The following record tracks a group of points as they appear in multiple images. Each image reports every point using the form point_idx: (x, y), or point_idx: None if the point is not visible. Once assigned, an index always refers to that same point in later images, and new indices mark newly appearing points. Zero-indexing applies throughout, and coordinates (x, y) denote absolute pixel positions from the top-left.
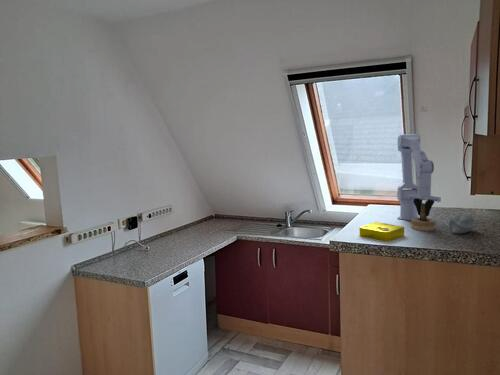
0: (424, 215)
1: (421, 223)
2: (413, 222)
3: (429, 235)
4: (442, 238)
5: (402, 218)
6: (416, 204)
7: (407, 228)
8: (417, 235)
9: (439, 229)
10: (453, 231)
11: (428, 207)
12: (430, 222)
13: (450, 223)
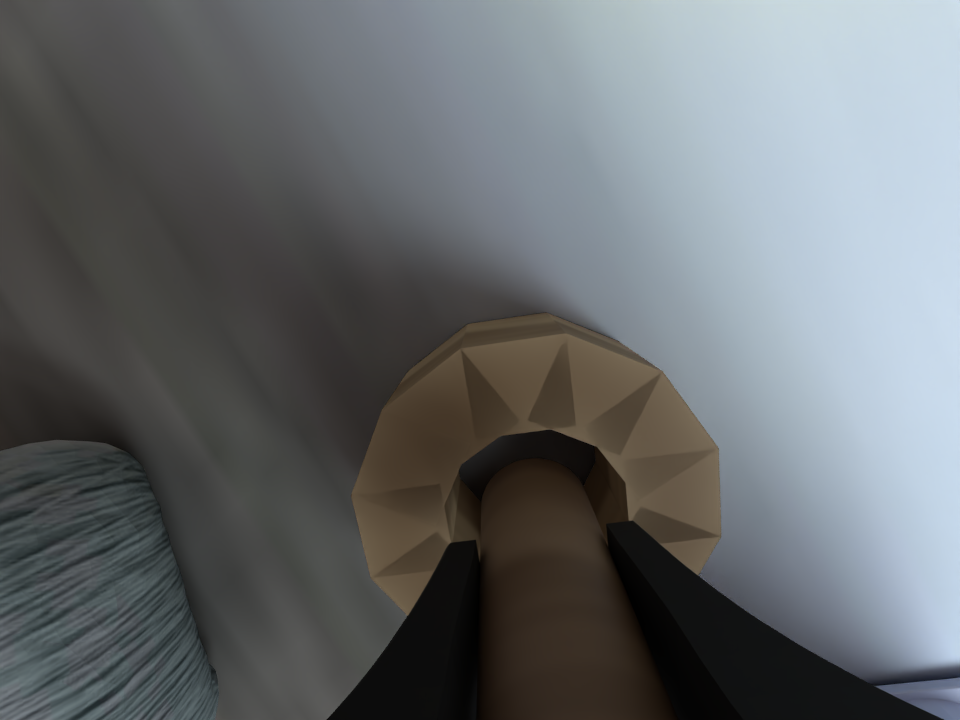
0: (496, 532)
1: (472, 341)
2: (625, 352)
3: (251, 141)
4: (48, 111)
5: (944, 693)
6: (836, 714)
7: (670, 302)
8: (357, 6)
9: (353, 522)
10: (96, 442)
11: (353, 706)
12: (369, 446)
13: (57, 507)
